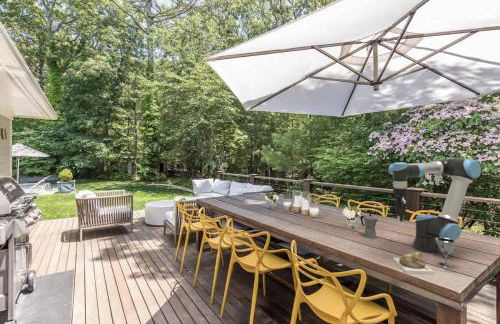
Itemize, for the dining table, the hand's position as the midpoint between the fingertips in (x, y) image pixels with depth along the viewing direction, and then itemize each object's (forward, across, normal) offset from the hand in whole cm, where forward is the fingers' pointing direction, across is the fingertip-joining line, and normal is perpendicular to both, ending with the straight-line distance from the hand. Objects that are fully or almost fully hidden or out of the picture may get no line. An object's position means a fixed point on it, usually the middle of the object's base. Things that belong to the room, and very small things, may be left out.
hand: (400, 226), depth 167 cm
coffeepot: (+22, -49, -4) cm, 54 cm away
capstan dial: (+20, +9, +2) cm, 22 cm away
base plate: (+21, +9, +2) cm, 23 cm away
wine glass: (+22, +5, +23) cm, 32 cm away
